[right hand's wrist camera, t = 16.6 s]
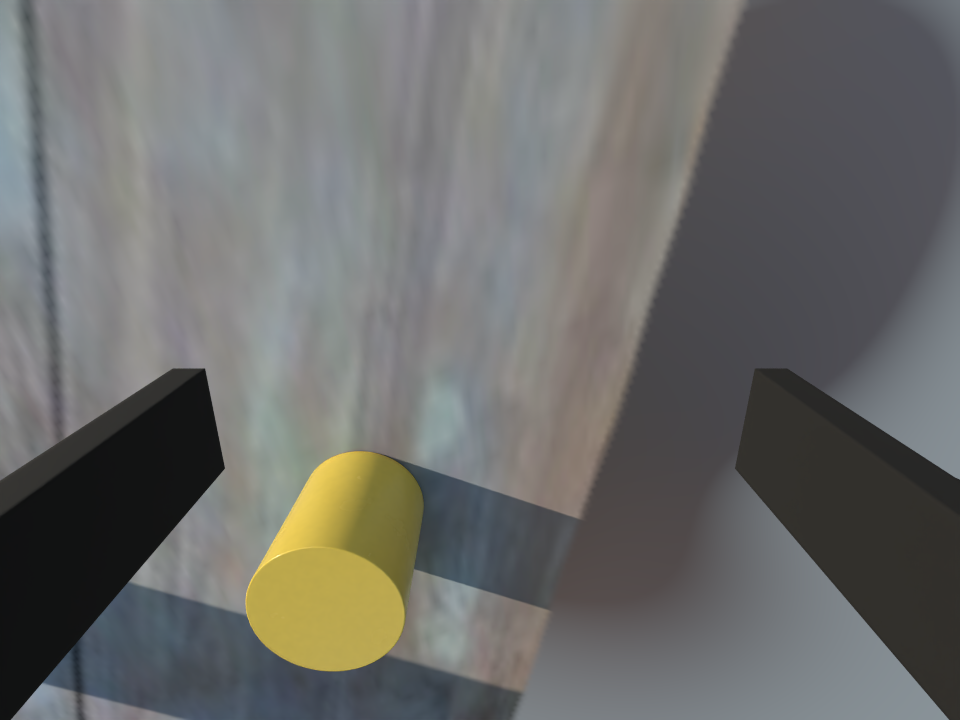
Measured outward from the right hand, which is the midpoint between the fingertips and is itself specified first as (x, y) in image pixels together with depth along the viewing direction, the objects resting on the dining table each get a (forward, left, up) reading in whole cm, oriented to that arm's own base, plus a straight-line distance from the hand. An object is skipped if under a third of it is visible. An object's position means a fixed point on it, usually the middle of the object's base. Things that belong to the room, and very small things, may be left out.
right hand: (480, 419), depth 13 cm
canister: (+11, +11, -16) cm, 23 cm away
